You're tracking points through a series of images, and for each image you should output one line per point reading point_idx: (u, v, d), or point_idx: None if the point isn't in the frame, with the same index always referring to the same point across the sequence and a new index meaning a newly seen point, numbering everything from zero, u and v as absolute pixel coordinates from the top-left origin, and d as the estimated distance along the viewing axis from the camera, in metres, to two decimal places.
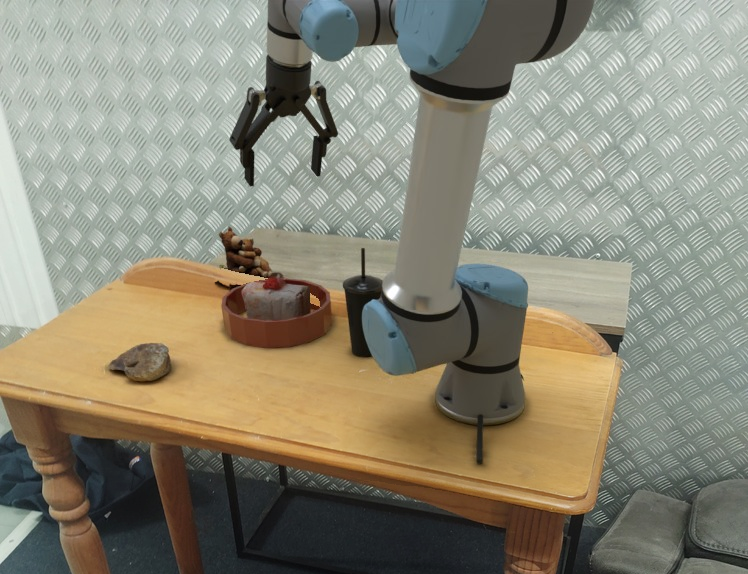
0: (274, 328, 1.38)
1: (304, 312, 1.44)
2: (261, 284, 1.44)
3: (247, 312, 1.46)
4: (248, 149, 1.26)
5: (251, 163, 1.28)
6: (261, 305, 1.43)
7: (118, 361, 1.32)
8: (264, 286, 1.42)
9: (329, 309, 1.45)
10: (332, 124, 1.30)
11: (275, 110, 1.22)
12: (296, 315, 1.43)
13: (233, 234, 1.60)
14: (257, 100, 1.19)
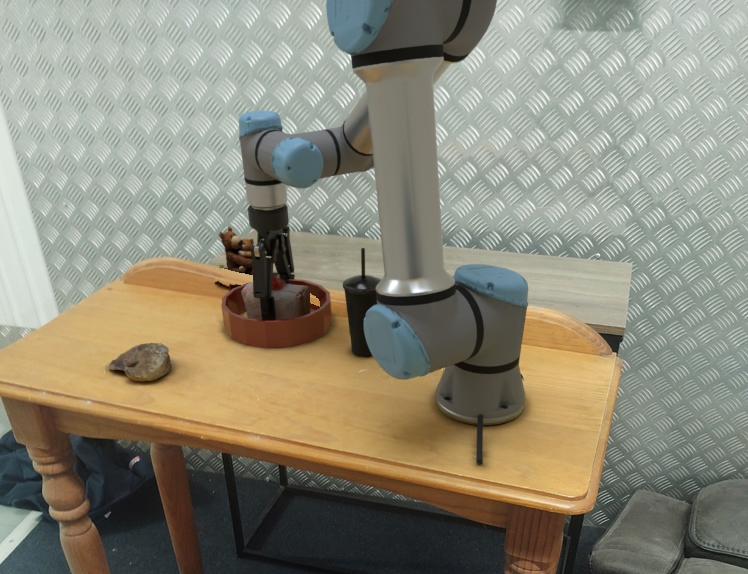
0: (274, 328, 1.38)
1: (304, 312, 1.44)
2: None
3: (247, 312, 1.46)
4: (270, 295, 1.40)
5: (273, 307, 1.42)
6: None
7: (118, 361, 1.33)
8: None
9: (329, 309, 1.45)
10: (292, 260, 1.47)
11: (274, 252, 1.37)
12: (296, 315, 1.43)
13: (233, 234, 1.60)
14: (264, 251, 1.34)
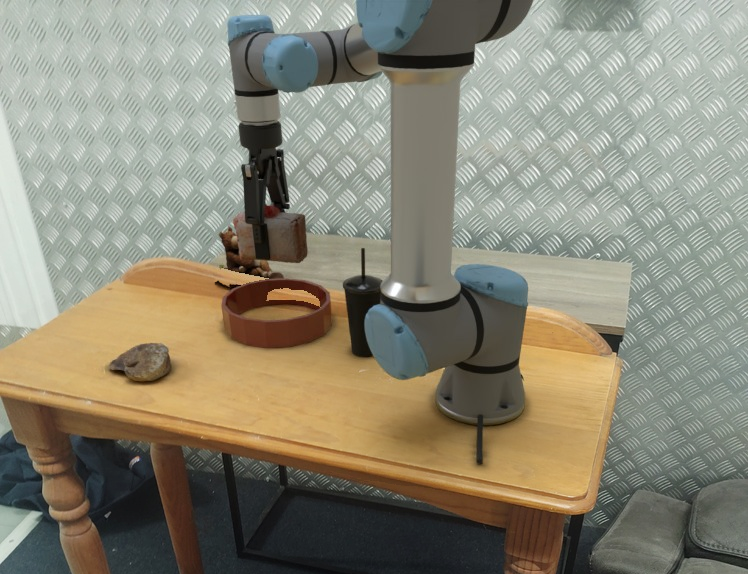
0: (274, 328, 1.38)
1: (300, 242, 1.35)
2: None
3: (239, 243, 1.37)
4: (263, 221, 1.31)
5: (266, 235, 1.33)
6: None
7: (118, 361, 1.33)
8: None
9: (329, 309, 1.45)
10: (286, 188, 1.38)
11: (267, 173, 1.28)
12: (291, 244, 1.34)
13: (233, 234, 1.60)
14: (256, 170, 1.25)
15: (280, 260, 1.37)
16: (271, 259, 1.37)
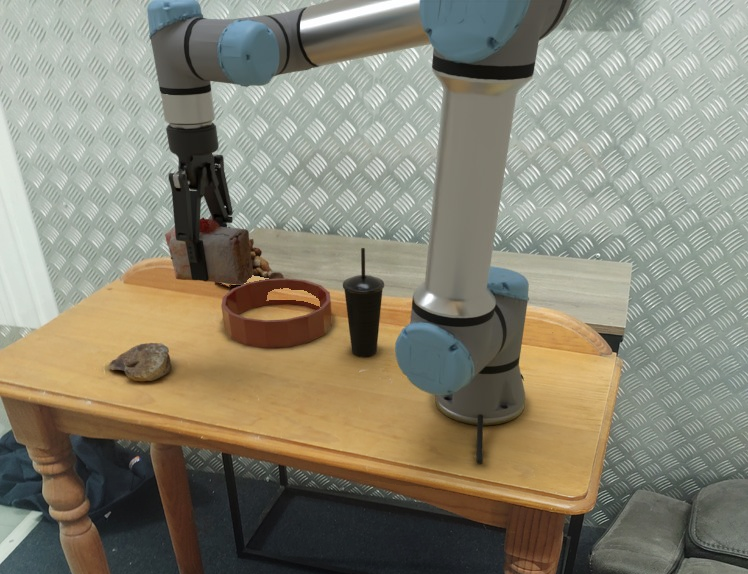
0: (274, 328, 1.38)
1: (242, 261, 1.18)
2: None
3: (173, 261, 1.20)
4: (198, 238, 1.14)
5: (203, 254, 1.16)
6: None
7: (118, 361, 1.33)
8: None
9: (329, 309, 1.45)
10: (228, 199, 1.21)
11: (200, 183, 1.11)
12: (231, 264, 1.17)
13: None
14: (186, 180, 1.08)
15: (220, 281, 1.20)
16: (210, 280, 1.20)
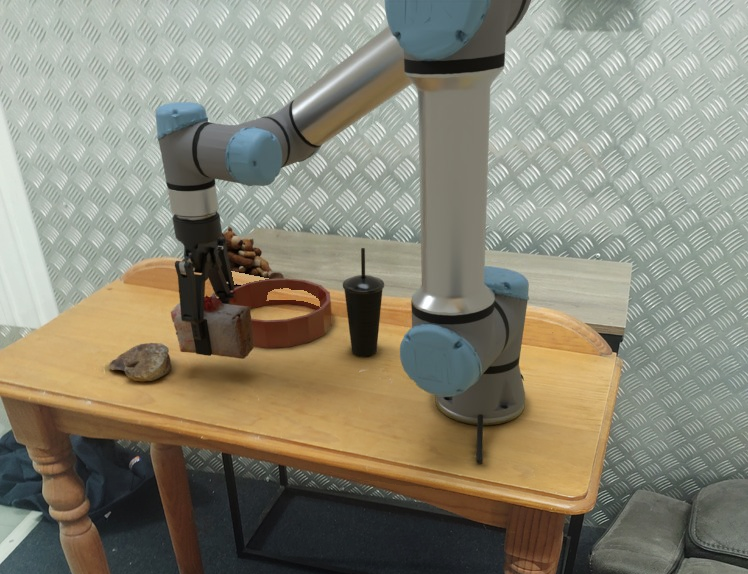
0: (274, 328, 1.38)
1: (243, 337, 1.25)
2: None
3: (178, 336, 1.26)
4: (202, 318, 1.20)
5: (207, 331, 1.22)
6: None
7: (118, 361, 1.33)
8: None
9: (329, 309, 1.45)
10: (231, 276, 1.27)
11: (205, 268, 1.17)
12: (233, 340, 1.23)
13: (233, 234, 1.60)
14: (191, 267, 1.14)
15: (223, 355, 1.26)
16: (213, 354, 1.26)
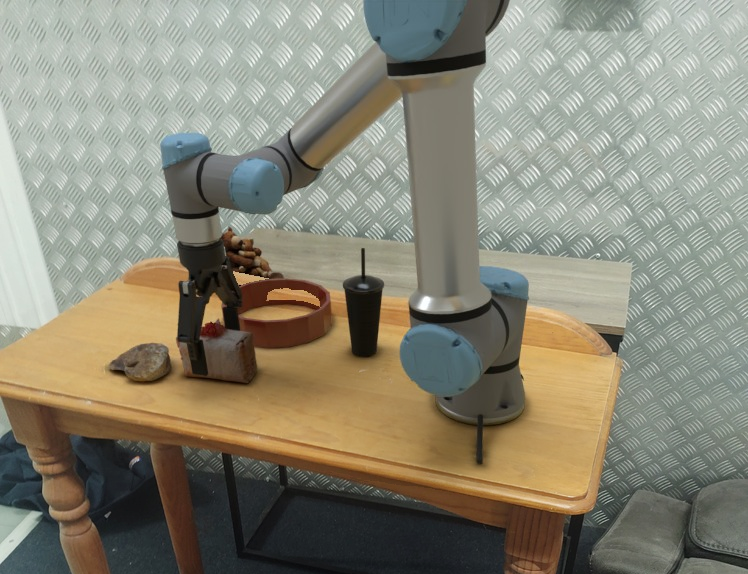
0: (274, 328, 1.38)
1: (247, 362, 1.28)
2: None
3: (183, 361, 1.29)
4: (198, 339, 1.20)
5: (203, 352, 1.22)
6: None
7: (118, 361, 1.33)
8: (201, 333, 1.26)
9: (329, 309, 1.45)
10: (237, 288, 1.30)
11: (207, 291, 1.19)
12: (237, 366, 1.26)
13: (233, 234, 1.60)
14: (194, 288, 1.16)
15: (227, 379, 1.29)
16: (217, 378, 1.29)
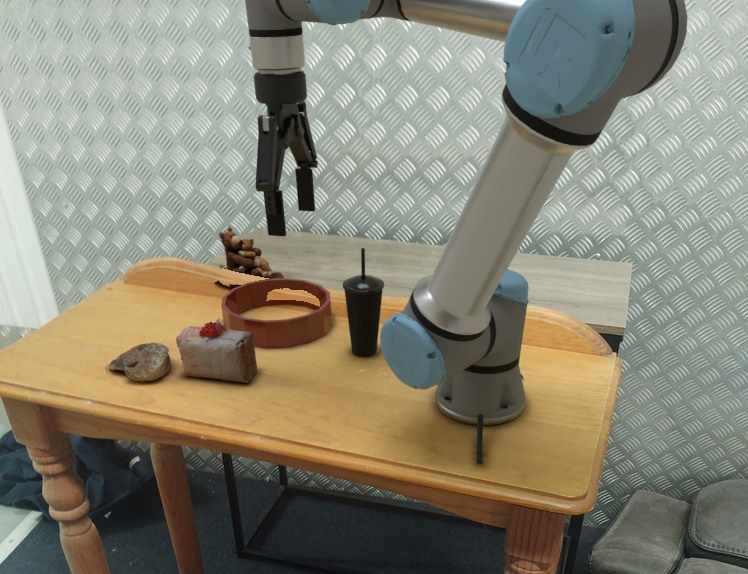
0: (274, 328, 1.38)
1: (247, 362, 1.28)
2: (198, 330, 1.28)
3: (183, 361, 1.29)
4: (278, 188, 1.05)
5: (282, 205, 1.07)
6: (197, 355, 1.27)
7: (118, 361, 1.33)
8: (201, 333, 1.26)
9: (329, 309, 1.45)
10: (312, 145, 1.16)
11: (288, 132, 1.05)
12: (237, 366, 1.26)
13: (233, 234, 1.60)
14: (276, 123, 1.01)
15: (227, 379, 1.29)
16: (217, 378, 1.29)
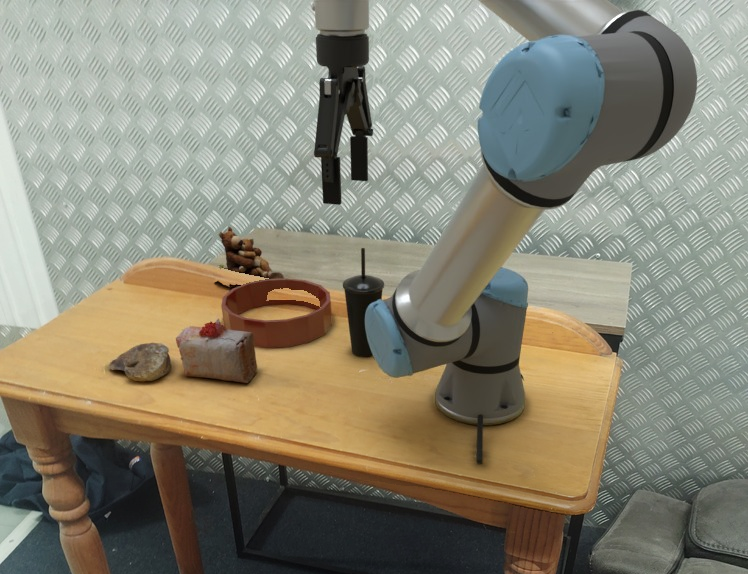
0: (274, 328, 1.38)
1: (247, 362, 1.28)
2: (198, 330, 1.28)
3: (183, 361, 1.29)
4: (336, 154, 1.03)
5: (339, 172, 1.05)
6: (197, 355, 1.27)
7: (118, 361, 1.33)
8: (200, 333, 1.26)
9: (329, 309, 1.45)
10: (369, 112, 1.14)
11: (348, 97, 1.02)
12: (237, 366, 1.26)
13: (233, 234, 1.60)
14: (338, 87, 0.99)
15: (227, 379, 1.29)
16: (217, 378, 1.29)
